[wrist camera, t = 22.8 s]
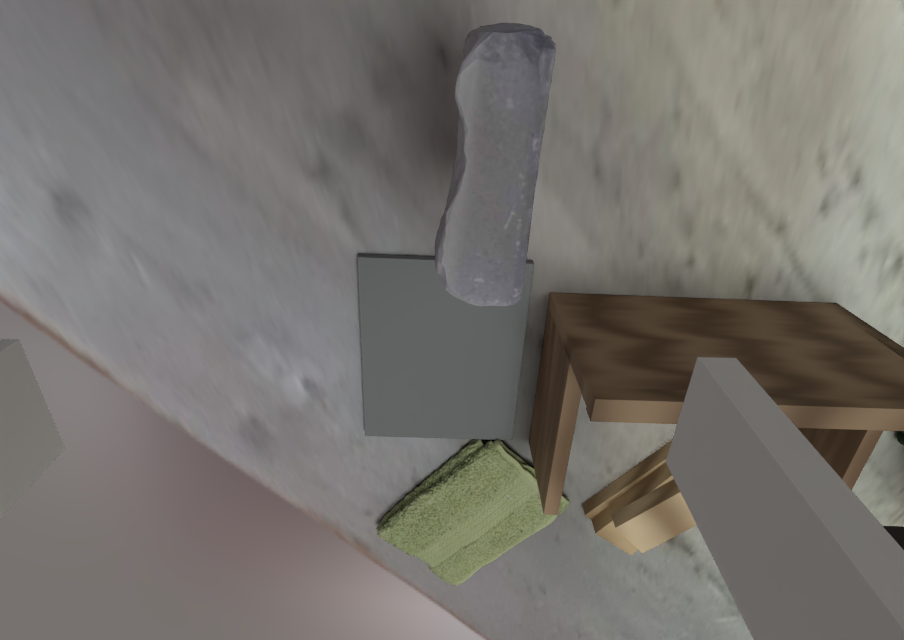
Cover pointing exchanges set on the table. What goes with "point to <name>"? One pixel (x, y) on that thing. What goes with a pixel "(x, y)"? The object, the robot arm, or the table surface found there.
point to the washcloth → (468, 511)
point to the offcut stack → (640, 506)
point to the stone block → (495, 163)
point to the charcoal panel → (436, 354)
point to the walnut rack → (721, 336)
